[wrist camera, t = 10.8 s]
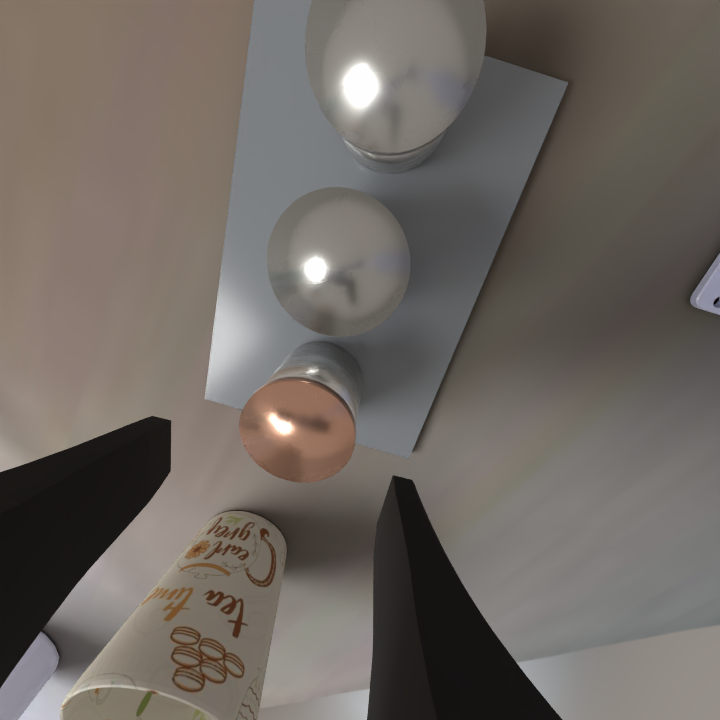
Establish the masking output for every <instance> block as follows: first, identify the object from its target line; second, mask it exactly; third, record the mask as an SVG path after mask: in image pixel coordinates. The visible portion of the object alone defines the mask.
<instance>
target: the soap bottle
mask: <svg viewBox="0 0 720 720" xmlns="http://www.w3.org/2000/svg"><path fill="white" fill-rule="evenodd" d="M58 661H59V655H58V653H57V650H56V647H55V645H54V644H53V643H52V641H51V640H50V639H49V638H48V637H47V636H46V634H44V633H43V632H42V631H41V632H40V633H39V635H38V636H37V637H36V639H35V640H34V642H33V643H32V644H31V646H30V647H29V648H28V650H27V651H26V653H25V654H24V655H23V657H22V658H21V660H20V661H19V662H18V664H17V665H16V666H15V668H14V669H13V671H12V672H11V674H10V675H9V677H8V678H7V679H6V681H5V682H4V684H3V685H2V687H1V688H0V720H18V719H19V718H20V716H21V715H22V714H23V712H24V711H25V710H26V708H27V707H28V706H29V704H30V703H31V702H32V701H33V699H34V698H35V697H36V695H37V694H38V693H39V691H40V690H41V689H42V687H43V686H44V685H45V683H46V682H47V681H48V679H49V678H50V677H51V675H52V674H53V673H54V672H55V670H56V668H57V665H58Z"/></svg>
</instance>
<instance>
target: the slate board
mask: <svg viewBox="0 0 720 720" xmlns="http://www.w3.org/2000/svg"><path fill="white" fill-rule="evenodd" d="M311 3H312V0H254V7H253V15H252V23H251V31H250V39H249V47H248V55H247V63H246V71H245V79H244V87H243V95H242V103H241V112H240V120H239V128H238V136H237V144H236V152H235V160H234V168H233V176H232V184H231V192H230V200H229V208H228V216H227V224H226V232H225V240H224V248H223V256H222V265H221V273H220V281H219V289H218V297H217V305H216V313H215V321H214V329H213V337H212V345H211V353H210V361H209V369H208V377H207V385H206V393H205V399H208V400H211V401H215V402H218V403H221V404H225V405H228V406H231V407H235V408H238V409H242V410H243V408H244V406H245V404H246V403H247V401H248V400H249V399H250V398H251V396H252V395H253V394H254V393H255V392H256V391H257V390H258V389H259V388H260V387H261V386H263V385H264V384H265V383H266V382H267V381H268V379H269V378H270V377H271V376H272V375H273V373H274V372H275V371H276V370H277V368H278V367H279V366H280V365H281V363H282V362H283V361H284V360H285V358H286V357H287V356H288V355H289V354H290V352H292V351H293V350H294V349H295V348H297V347H298V346H300V345H302V344H305V343H308V342H313V341H324V342H329V343H333V344H336V345H338V346H340V347H342V348H343V349H345V350H346V351H348V352H349V353H350V354H351V355H352V356H353V357H354V358H355V360H356V361H357V363H358V365H359V367H360V369H361V372H362V376H363V388H362V393H361V399H360V404H359V410H358V415H357V420H356V440H355V443H357V444H360V445H363V446H367V447H370V448H374V449H377V450H380V451H384V452H387V453H390V454H394V455H397V456H401V457H404V458H407V459H409V457H410V455H411V452H412V450H413V448H414V445H415V443H416V440H417V438H418V436H419V433H420V431H421V429H422V426H423V424H424V422H425V419H426V417H427V415H428V412H429V410H430V408H431V405H432V403H433V400H434V398H435V396H436V393H437V391H438V389H439V386H440V384H441V382H442V379H443V377H444V375H445V372H446V370H447V367H448V365H449V363H450V360H451V358H452V356H453V353H454V351H455V349H456V346H457V344H458V342H459V339H460V337H461V334H462V332H463V330H464V327H465V325H466V323H467V320H468V318H469V316H470V313H471V311H472V309H473V306H474V304H475V302H476V299H477V297H478V294H479V292H480V290H481V287H482V285H483V283H484V280H485V278H486V276H487V273H488V271H489V269H490V266H491V264H492V261H493V259H494V257H495V254H496V252H497V250H498V247H499V245H500V243H501V240H502V238H503V236H504V233H505V231H506V228H507V226H508V224H509V221H510V219H511V217H512V214H513V212H514V210H515V207H516V205H517V203H518V200H519V198H520V196H521V193H522V191H523V188H524V186H525V184H526V181H527V179H528V177H529V174H530V172H531V170H532V167H533V165H534V163H535V160H536V158H537V155H538V153H539V151H540V148H541V146H542V144H543V141H544V139H545V137H546V134H547V132H548V130H549V127H550V125H551V122H552V120H553V118H554V115H555V113H556V111H557V108H558V106H559V104H560V101H561V99H562V97H563V94H564V92H565V90H566V87H567V85H568V82H566V81H562V80H559V79H556V78H553V77H550V76H547V75H544V74H541V73H538V72H535V71H532V70H529V69H526V68H523V67H519V66H516V65H513V64H510V63H507V62H504V61H501V60H498V59H495V58H492V57H489V56H486V55H484V59H483V64H482V67H481V71H480V74H479V77H478V80H477V82H476V85H475V87H474V90H473V92H472V94H471V96H470V98H469V99H468V101H467V103H466V105H465V106H464V108H463V110H462V111H461V113H460V114H459V116H458V117H457V119H456V120H455V121H454V122H453V123H452V125H451V126H450V127H449V128H448V129H447V131H446V132H445V134H444V136H443V138H442V139H441V141H440V143H439V145H438V146H437V148H436V149H435V151H434V152H433V153H432V154H431V155H430V156H429V157H428V158H427V159H426V160H425V161H424V162H423V163H421V164H420V165H419V166H417V167H415V168H413V169H411V170H409V171H406V172H403V173H399V174H383V173H378V172H375V171H373V170H370V169H368V168H367V167H365V166H363V165H362V164H361V163H360V162H358V161H357V160H356V159H355V158H354V156H353V155H352V154H351V153H350V151H349V150H348V148H347V146H346V144H345V143H344V141H343V139H342V137H341V136H340V135H339V134H338V132H337V131H336V130H335V129H334V128H333V127H332V125H331V124H330V123H329V121H328V120H327V119H326V117H325V115H324V114H323V112H322V110H321V108H320V107H319V105H318V103H317V100H316V98H315V96H314V93H313V91H312V88H311V84H310V81H309V77H308V72H307V67H306V57H305V34H306V25H307V19H308V14H309V10H310V6H311ZM328 187H343V188H350V189H354V190H358V191H361V192H363V193H366V194H368V195H370V196H371V197H373V198H375V199H376V200H378V201H379V202H380V203H382V204H383V205H384V206H385V207H386V208H387V209H388V210H389V211H390V212H391V213H392V214H393V215H394V217H395V218H396V220H397V221H398V222H399V224H400V226H401V228H402V230H403V232H404V234H405V237H406V240H407V243H408V247H409V252H410V261H411V262H410V276H409V282H408V285H407V289H406V292H405V294H404V296H403V298H402V300H401V302H400V304H399V305H398V307H397V308H396V310H395V311H394V312H393V313H392V315H390V316H389V317H388V318H387V319H386V320H385V321H384V322H383V323H381V324H380V325H379V326H377V327H375V328H374V329H372V330H370V331H367V332H365V333H362V334H359V335H355V336H348V337H334V336H327V335H323V334H319V333H317V332H314V331H312V330H310V329H308V328H306V327H304V326H302V325H301V324H300V323H298V322H297V321H296V320H294V319H293V318H292V317H291V316H290V315H289V314H288V313H287V312H286V311H285V309H284V308H283V307H282V305H281V304H280V302H279V301H278V299H277V297H276V295H275V294H274V292H273V289H272V286H271V284H270V280H269V276H268V270H267V250H268V243H269V240H270V236H271V233H272V231H273V228H274V226H275V224H276V222H277V221H278V219H279V217H280V216H281V215H282V213H283V212H284V211H285V210H286V209H287V208H288V207H289V206H290V205H291V204H292V203H293V202H294V201H296V200H297V199H299V198H300V197H302V196H304V195H306V194H307V193H309V192H312V191H315V190H318V189H323V188H328Z"/></svg>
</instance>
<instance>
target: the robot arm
mask: <svg viewBox="0 0 720 720" xmlns="http://www.w3.org/2000/svg"><path fill="white" fill-rule="evenodd" d="M717 297H719V300H718V302H717V303H716V304H715V305H713V303H714V300H715V299H716V298H717ZM690 303H691V304H692V306H694V307H695V308H698V309H702V310H705V311H708V312H711V313H714V314H718V315H720V253H719V255H718V256H717V258H716V259H715V261H714V262H713V264H712V265H711V267H710V268H709V270H708V271H707V273H706V274H705V276H704V277H703V279H702V280H701V282H700V283H699V285H698V286H697V288H696V289H695V291H694V292H693V294H692V296H691V298H690ZM170 471H171V420H167V419H163V418H159V417H154V416H151V417H148V418H145V419H142V420H140V421H137V422H135V423H132V424H129V425H127V426H124V427H122V428H119V429H117V430H115V431H112V432H110V433H107V434H105V435H102V436H99V437H97V438H94V439H92V440H89V441H87V442H84V443H82V444H79V445H77V446H74V447H72V448H69V449H66V450H63V451H60V452H58V453H55V454H52V455H49V456H47V457H44V458H41V459H38V460H36V461H33V462H30V463H27V464H24V465H21V466H18V467H15V468H12V469H9V470H6V471H3V472H0V688H1V687H2V685H3V684H4V682H5V681H6V679H7V678H8V677H9V675H10V674H11V672H12V671H13V669H14V668H15V666H16V665H17V664H18V662H19V661H20V660H21V658H22V657H23V655H24V654H25V653H26V651H27V650H28V648H29V647H30V646H31V644H32V643H33V642H34V640H35V639H36V637H37V636H38V635H39V633H40V632H41V631H42V629H43V628H44V626H45V625H46V624H47V622H48V621H49V620H50V618H51V617H52V616H53V614H54V613H55V612H56V610H57V609H58V608H59V606H60V605H61V604H62V603H63V601H64V600H65V599H66V597H67V596H68V595H69V593H70V592H71V591H72V589H73V588H74V587H75V585H76V584H77V583H78V582H79V581H80V579H81V578H82V577H83V576H84V575H85V573H86V572H87V571H88V570H89V569H90V567H91V566H92V565H93V564H94V563H95V562H96V561H97V560H98V559H99V557H100V556H101V555H102V554H103V553H104V552H105V551H106V550H107V548H108V547H109V546H110V545H111V544H112V543H113V542H114V541H115V540H116V538H117V537H118V536H119V535H120V534H121V533H122V532H123V531H124V530H125V528H126V527H127V526H128V525H129V524H130V523H131V522H132V521H133V519H134V518H135V517H136V516H137V515H138V514H139V513H140V512H141V510H142V509H143V508H144V507H145V506H146V505H147V504H148V502H149V501H150V500H151V499H152V497H153V496H154V494H155V493H156V492H157V490H158V489H159V488H160V486H161V485H162V483H163V482H164V480H165V479H166V477H167V476H168V474H169V473H170ZM367 720H562V719H561V718H560V716H559V715H558V714H557V713H556V712H555V711H554V710H553V708H552V707H551V706H550V705H549V703H548V702H547V701H546V700H545V698H544V697H543V696H542V695H541V693H540V692H539V691H538V690H537V689H536V687H535V686H534V685H533V684H532V682H531V681H530V680H529V679H528V677H527V676H526V675H525V674H524V672H523V671H522V670H521V669H520V667H519V666H518V664H517V663H516V662H515V660H514V659H513V658H512V656H511V655H510V654H509V652H508V651H507V650H506V648H505V647H504V645H503V644H502V643H501V641H500V640H499V639H498V637H497V636H496V635H495V633H494V632H493V631H492V629H491V628H490V626H489V625H488V623H487V622H486V620H485V619H484V617H483V616H482V614H481V613H480V611H479V610H478V608H477V607H476V605H475V603H474V602H473V600H472V599H471V597H470V596H469V594H468V592H467V591H466V589H465V587H464V586H463V584H462V582H461V581H460V579H459V577H458V575H457V574H456V572H455V570H454V568H453V566H452V564H451V563H450V561H449V559H448V557H447V555H446V553H445V551H444V549H443V548H442V546H441V543H440V541H439V539H438V537H437V535H436V533H435V531H434V529H433V527H432V525H431V523H430V521H429V518H428V516H427V514H426V511H425V509H424V507H423V505H422V502H421V500H420V497H419V495H418V492H417V490H416V487H415V485H414V483H413V481H412V480H410V479H406V478H402V477H398V476H394V475H393V477H392V480H391V483H390V486H389V489H388V492H387V495H386V498H385V501H384V504H383V507H382V510H381V513H380V516H379V519H378V522H377V530H376V539H375V548H374V579H373V658H372V670H371V682H370V694H369V706H368V716H367Z"/></svg>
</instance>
